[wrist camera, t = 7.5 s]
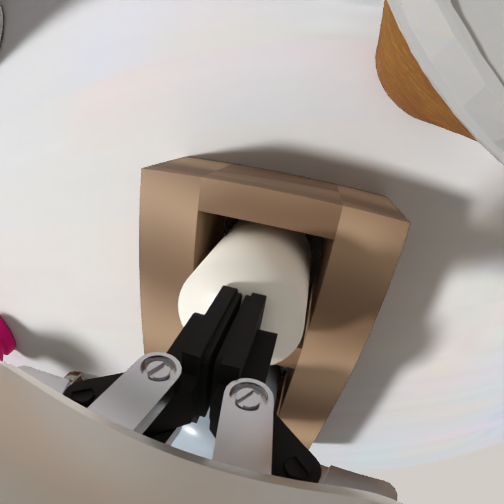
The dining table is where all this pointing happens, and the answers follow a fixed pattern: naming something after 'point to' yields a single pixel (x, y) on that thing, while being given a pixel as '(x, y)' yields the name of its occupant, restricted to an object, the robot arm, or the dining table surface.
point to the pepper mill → (5, 340)
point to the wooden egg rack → (283, 216)
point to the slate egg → (199, 435)
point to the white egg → (257, 279)
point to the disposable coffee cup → (447, 65)
